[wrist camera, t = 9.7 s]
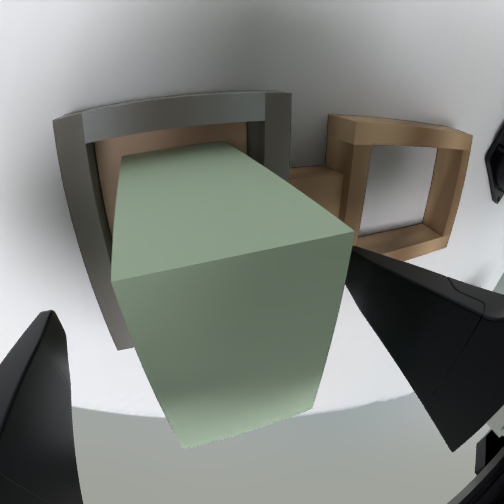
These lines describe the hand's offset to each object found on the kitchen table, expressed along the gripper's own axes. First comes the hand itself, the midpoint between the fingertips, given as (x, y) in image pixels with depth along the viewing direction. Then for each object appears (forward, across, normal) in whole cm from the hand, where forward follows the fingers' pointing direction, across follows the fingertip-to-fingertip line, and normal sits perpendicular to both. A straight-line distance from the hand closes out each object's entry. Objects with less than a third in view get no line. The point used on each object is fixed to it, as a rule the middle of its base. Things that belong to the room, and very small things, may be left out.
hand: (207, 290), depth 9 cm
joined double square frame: (+5, -6, 0) cm, 8 cm away
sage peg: (+5, 0, 0) cm, 5 cm away
